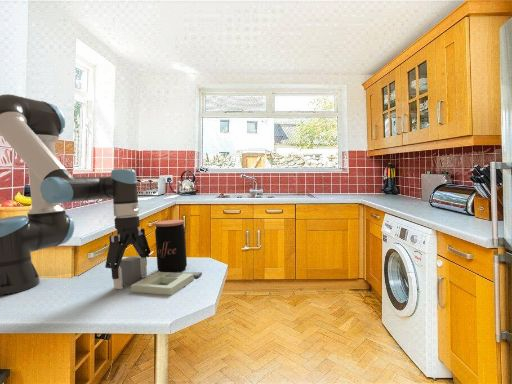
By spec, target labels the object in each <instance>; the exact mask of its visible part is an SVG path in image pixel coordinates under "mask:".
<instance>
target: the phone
mask: <svg viewBox="0 0 512 384" xmlns="http://www.w3.org/2000/svg"><path fill="white" fill-rule="evenodd" d="M181 273H188V274H194V279H199V278H200V277H201V276H202V274H203V272H200V271H198V272H194V271H193V272H192V271H191V272H190V271H189V272H187V271H186V272H185V271H184V272H182V271H181Z"/></svg>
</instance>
